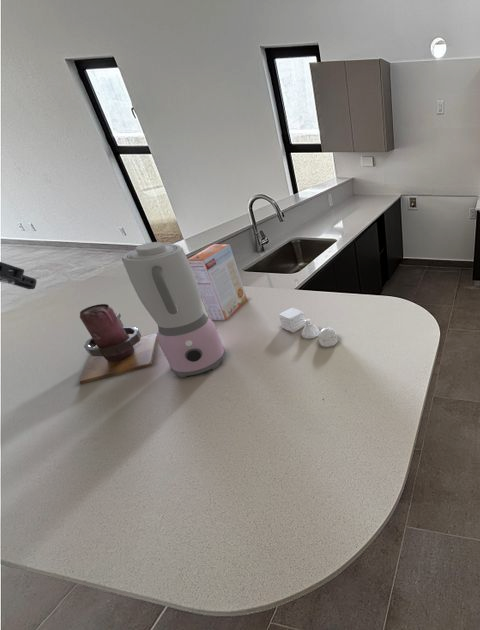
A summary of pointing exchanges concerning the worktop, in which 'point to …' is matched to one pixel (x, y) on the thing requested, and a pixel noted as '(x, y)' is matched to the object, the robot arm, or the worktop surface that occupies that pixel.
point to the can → (105, 329)
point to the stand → (105, 368)
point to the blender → (175, 307)
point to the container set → (307, 327)
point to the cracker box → (218, 281)
